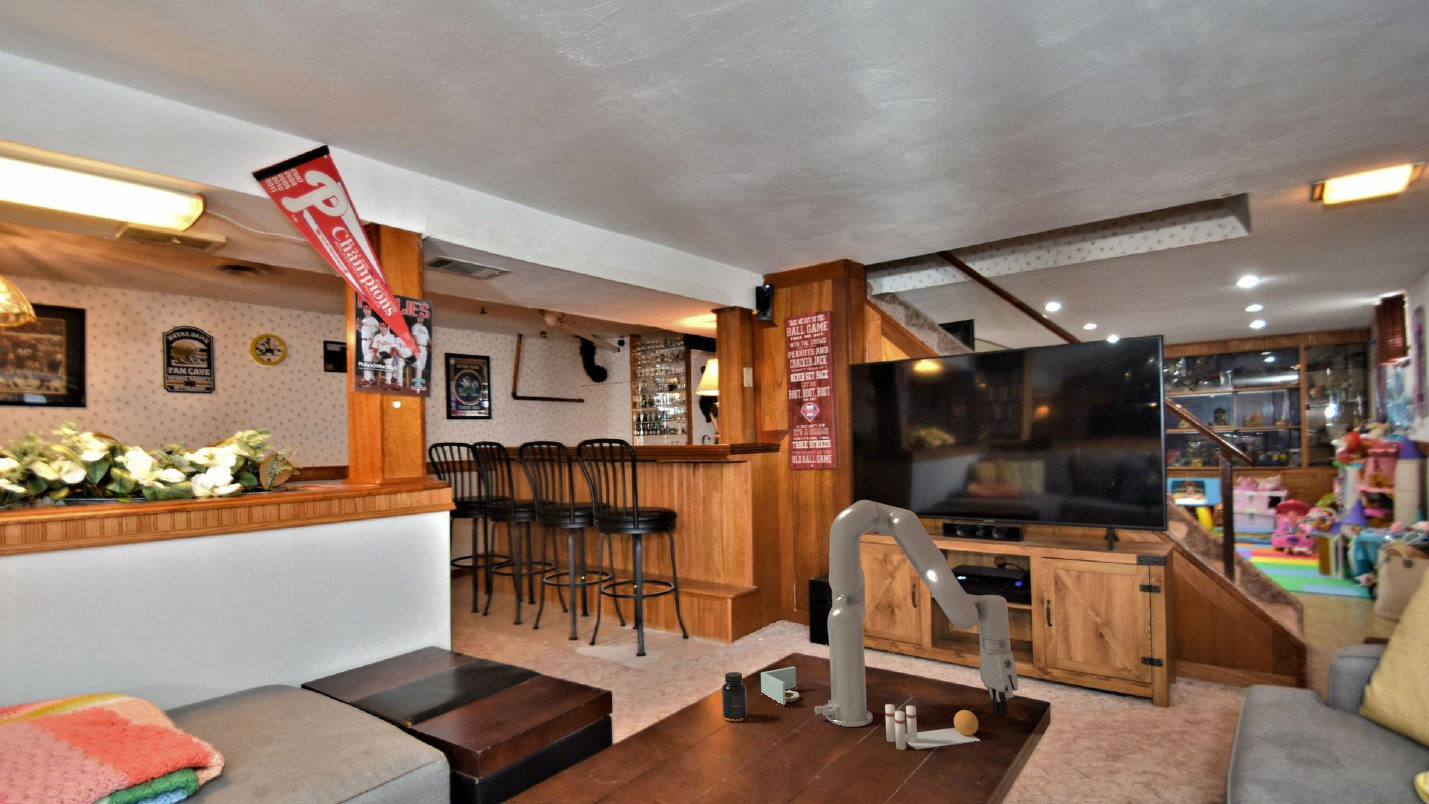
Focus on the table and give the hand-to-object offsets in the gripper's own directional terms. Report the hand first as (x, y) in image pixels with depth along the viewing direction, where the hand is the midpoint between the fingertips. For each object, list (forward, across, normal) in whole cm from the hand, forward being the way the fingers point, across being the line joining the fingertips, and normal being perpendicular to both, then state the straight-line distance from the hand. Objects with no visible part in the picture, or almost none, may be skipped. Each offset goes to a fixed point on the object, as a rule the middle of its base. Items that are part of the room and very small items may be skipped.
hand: (1000, 715), depth 185 cm
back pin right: (+3, -2, +30) cm, 30 cm away
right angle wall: (+3, +40, +44) cm, 60 cm away
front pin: (+3, 0, +26) cm, 26 cm away
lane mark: (+4, 0, +18) cm, 18 cm away
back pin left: (+3, +3, +30) cm, 30 cm away
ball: (+1, 0, +10) cm, 10 cm away
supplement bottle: (+3, +29, +64) cm, 71 cm away
